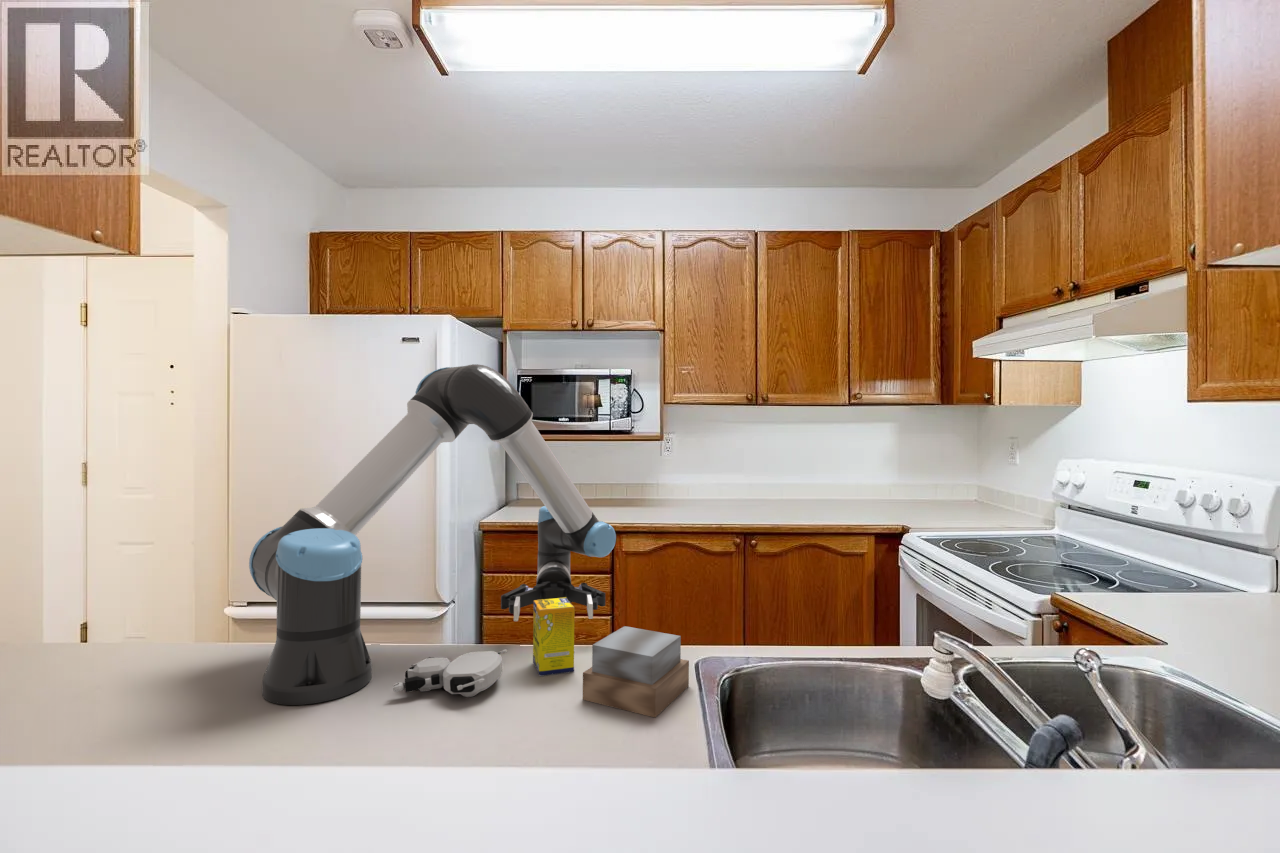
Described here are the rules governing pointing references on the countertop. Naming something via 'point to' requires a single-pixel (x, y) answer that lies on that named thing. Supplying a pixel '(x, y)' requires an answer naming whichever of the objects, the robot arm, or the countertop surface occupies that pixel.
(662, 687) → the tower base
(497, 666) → the robot toy
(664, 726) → the countertop surface
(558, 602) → the supplement box
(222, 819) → the countertop surface
